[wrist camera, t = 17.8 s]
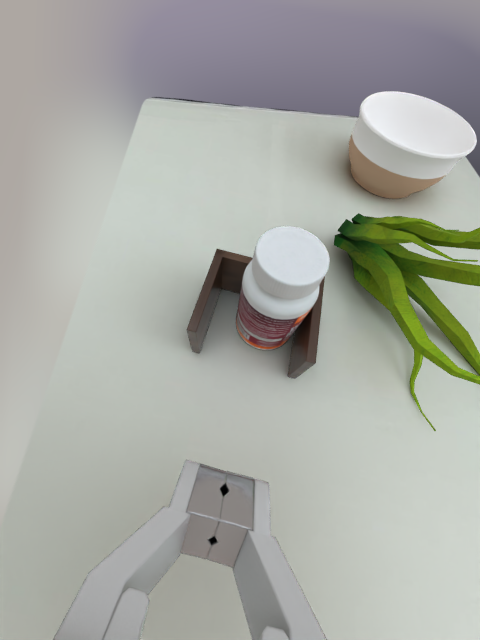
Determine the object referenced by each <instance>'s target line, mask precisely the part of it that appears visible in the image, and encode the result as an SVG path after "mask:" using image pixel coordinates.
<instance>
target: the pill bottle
mask: <svg viewBox="0 0 480 640" xmlns="http://www.w3.org/2000/svg"><path fill="white" fill-rule="evenodd" d="M329 263H330V259H329V254H328V251H327V249H326V247H325V245H324V244H323V243H322V241H321V240H320V239H319V238H317V237H316V236H315V235H314V234H312V233H310V232H309V231H306V230H305V229H302V228H298V227H293V226H280V227H275V228H272V229H270V230H268V231H266V232H265V233H264V234H263V235H262V236H261V237H260V238H259V240H258V242H257V244H256V247H255V251H254V255H253V259H252V260H251V261H250V263H249V264H248V266H247V267H246V269H245V272H244V275H243V280H242V286H241V292H240V299H239V304H238V310H237V316H236V327H237V331H238V333H239V335H240V336H241V338H242V339H243V340H244V341H245V342H246V343H247V344H249V345H250V346H252V347H254V348H257V349H261V350H272V349H276V348H278V347H280V346H282V345H283V344H285V343H286V342H287V341H288V339H289V338H290V337H291V335H292V334H293V333H294V332H295V330H296V329H297V328H298V326H299V325H300V323H301V322H302V321H303V319H304V318H305V317H306V315H307V314H308V312H309V311H310V310H311V308H312V307H313V305H314V304H315V302H316V300H317V298H318V295H319V285H320V283H321V281H322V279H323V278H324V276H325V275H326V273H327V271H328V268H329Z"/></svg>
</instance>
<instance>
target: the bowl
mask: <svg viewBox="0 0 480 640" xmlns="http://www.w3.org/2000/svg"><path fill="white" fill-rule="evenodd" d="M476 142H477V141H476V135H475V132H474V130H473V129H472V128H471V126H470V125H469V123H468V122H466V121H465V120H464V119H463V118H462V117H461V116H459V115H458V114H457V113H456V112H454V111H452V110H451V109H449V108H448V107H446V106H443V105H441V104H440V103H437V102H435V101H433V100H430V99H428V98H425V97H421V96H418V95H414V94H410V93H403V92H392V91H387V92H379V93H376V94H372V95H370V96H368V97H367V98H366V99H365V100H364V101H363V102H362V104H361V106H360V114H359V118H358V120H357V122H356V124H355V126H354V128H353V131H352V135H351V138H350V141H349V158H350V162H351V165H352V166H351V173H352V176H353V178H354V179H355V181H356V182H357V183H358V184H359V185H360V186H362V187H363V188H364V189H366V190H367V191H369V192H371V193H373V194H375V195H378V196H381V197H385V198H392V199H398V198H404V197H407V196H409V195H410V194H411V193H415V192H418V191H422V190H424V189H426V188H428V187H430V186H432V185H434V184H435V183H437V182H439V181H440V180H441V179H442V178H443V177H444V176H445V175H446V174H448V173H449V172H450V171H451V170H452V169H453V168H454V166H455V165H456V164H457V162H458V161H459V160H460V159H462V158H463V157H464V156H466V155H468V154H469V153H470V152H471V151H472V150H473V149H474V147H475V145H476Z"/></svg>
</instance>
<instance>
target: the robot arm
mask: <svg viewBox="0 0 480 640" xmlns="http://www.w3.org/2000/svg"><path fill="white" fill-rule="evenodd" d="M199 465H200V466H199ZM180 553H182V554H186V555H190V556H195V557H199V558H203V559H207V560H210V561H213V562H216V563H220V564H223V565H226V566H229V567H232V568H233V572H234V576H235V580H236V583H237V587H238V590H239V594H240V597H241V601H242V604H243V608H244V612H245V615H246V619H247V622H248V626H249V629H250V633H251V636H252V640H327V639H326V637H325V635H324V633H323V631H322V629H321V627H320V625H319V623H318V621H317V619H316V617H315V615H314V613H313V611H312V609H311V607H310V605H309V603H308V601H307V599H306V597H305V595H304V593H303V591H302V589H301V587H300V585H299V583H298V581H297V579H296V577H295V575H294V573H293V571H292V569H291V567H290V565H289V563H288V561H287V559H286V557H285V555H284V553H283V551H282V549H281V547H280V545H279V543H278V541H277V539H276V537H273V536H271V523H270V489H269V483H268V482H265V481H262V480H258V479H255V478H252V477H248V476H244V475H240V474H237V473H233V472H229V471H227V472H226V471H223V470H220V469H217V468H213V467H210V466H207V465H204V464H200V463H197V462H193V461H190V460H186V461H185V463H184V465H183V468H182V471H181V473H180V476H179V479H178V482H177V485H176V487H175V490H174V493H173V496H172V499H171V501H170V504H169V507H163V508H162V509H160V510H159V511H158V512H157V513H156V514H155V515H154V516H152V517H151V518H150V519H149V520H148V521H147V522H146V523H145V524H143V525H142V526H141V527H140V528H139V529H138V530H137V531H135V532H134V533H133V534H132V535H131V536H130V537H129V538H127V539H126V540H125V541H124V542H123V543H122V544H121V545H120V546H118V547H117V548H116V549H115V550H114V551H113V552H112V553H110V554H109V555H108V556H107V557H106V558H105V559H104V560H103V561H101V562H100V563H99V564H98V565H97V566H96V567H95V568H93V569H92V570H91V571H90V572H89V573H88V575H87V577H86V578H85V580H84V582H83V584H82V586H81V588H80V590H79V592H78V593H77V595H76V597H75V599H74V601H73V603H72V605H71V607H70V608H69V610H68V612H67V614H66V616H65V618H64V620H63V622H62V624H61V625H60V627H59V629H58V631H57V633H56V635H55V637H54V639H53V640H140V639H141V635H142V631H143V626H144V622H145V618H146V614H147V609H148V605H149V601H150V600H149V598H148V594H149V593H150V592H151V591H152V589H153V588H154V587H155V586H156V584H157V583H158V582H159V581H160V579H161V578H162V577H163V576H164V574H165V573H166V572H167V571H168V569H169V568H170V567H171V566H172V564H173V563H174V562H175V561H176V559H177V558H178V557H179V556H180Z"/></svg>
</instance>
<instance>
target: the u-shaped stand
mask: <svg viewBox="0 0 480 640" xmlns="http://www.w3.org/2000/svg"><path fill="white" fill-rule="evenodd" d="M252 259H253V258H251V257H247V256H243V255H239V254H235V253H231V252H227V251H224V250H220V249H217V250H216V253H215V256H214V258H213V261H212V264H211V266H210V269H209V272H208V274H207V277H206V280H205V282H204V285H203V287H202V290H201V293H200V295H199V298H198V301H197V303H196V306H195V309H194V311H193V314H192V317H191V319H190V322H189V325H188V327H187V333H188V336H189V340H190V344H191V348H192V351H193V352H196V353H200V351H201V348H202V345H203V342H204V339H205V336H206V333H207V330H208V327H209V324H210V321H211V318H212V315H213V312H214V309H215V306H216V303H217V300H218V297H219V294H220V291H221V289H225V290H228V291H232V292H236V293H240V292H241V286H242V280H243V275H244V272H245V269H246V267H247V266H248V264H249V263H250V261H251V260H252ZM324 278H325V276H324ZM324 278H323V279H322V281H321V283H320V285H319V295H318V298H317V300H316V302H315V304H314V305H313V307H312V308H311V310H310V311H309V312H308V314H307V315H306V317H305V318H304V319H303V321H302V322H301V323H300V325H299V326H298V328H297V329H296V330H295V332H294V338H293V345H292V351H291V358H290V364H289V371H288V377H291V378H297V377H298V376H299V375H301V374H302V373H303V372H305V371H306V370H307V369H309V368H310V367H311V366H313V365H314V364H315V363H316V354H317V345H318V335H319V325H320V316H321V306H322V297H323V287H324Z"/></svg>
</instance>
